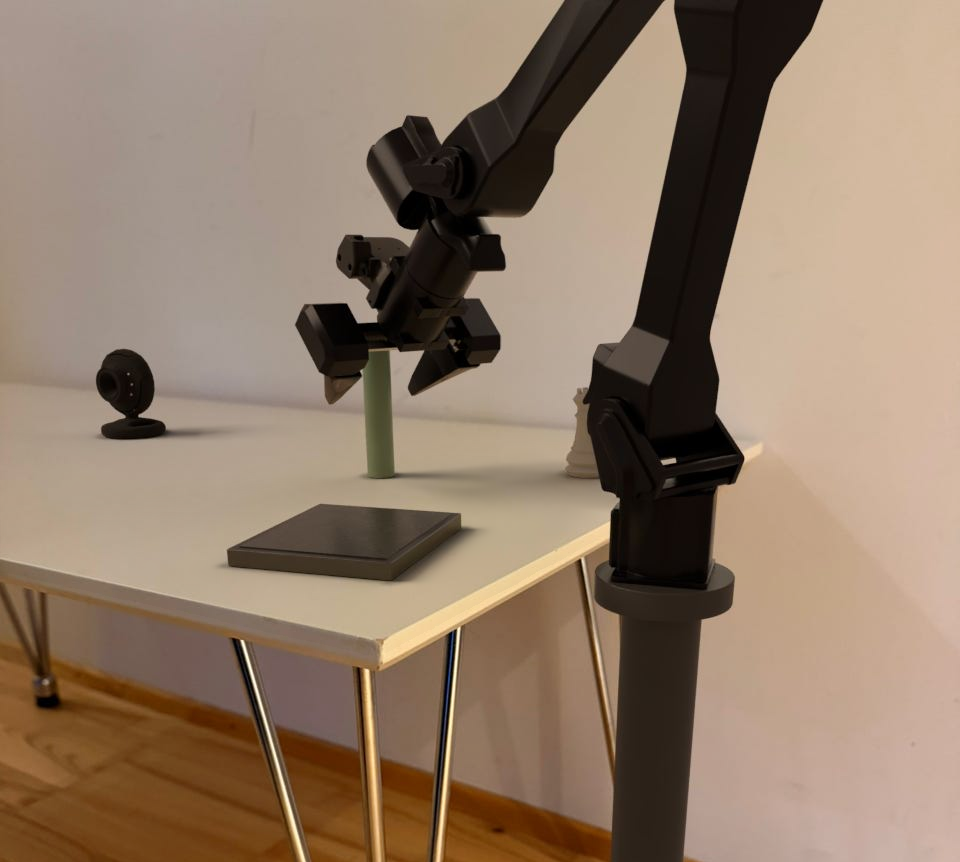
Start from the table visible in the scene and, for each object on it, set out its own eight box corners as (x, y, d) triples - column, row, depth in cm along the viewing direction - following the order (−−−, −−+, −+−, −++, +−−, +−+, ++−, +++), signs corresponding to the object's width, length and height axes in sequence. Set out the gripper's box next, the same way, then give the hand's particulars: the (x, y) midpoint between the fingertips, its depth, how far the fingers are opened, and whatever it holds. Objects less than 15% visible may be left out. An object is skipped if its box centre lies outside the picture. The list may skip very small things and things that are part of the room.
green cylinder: (398, 473, 96) (393, 334, 91) (388, 478, 93) (382, 336, 89) (374, 472, 96) (367, 333, 92) (363, 477, 94) (356, 335, 89)
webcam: (87, 436, 118) (74, 350, 115) (135, 427, 124) (124, 345, 121) (132, 441, 115) (120, 352, 111) (180, 432, 121) (170, 347, 117)
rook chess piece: (605, 468, 97) (608, 385, 94) (616, 477, 93) (619, 391, 90) (560, 470, 96) (562, 386, 94) (569, 479, 92) (571, 392, 89)
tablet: (461, 528, 76) (461, 512, 75) (391, 581, 63) (390, 562, 63) (320, 518, 79) (319, 502, 79) (228, 566, 67) (226, 548, 66)
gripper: (481, 203, 88) (415, 326, 101) (297, 196, 78) (247, 335, 90) (538, 298, 86) (463, 412, 98) (355, 305, 75) (295, 432, 87)
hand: (370, 396), depth 93 cm, fingers open, 9 cm apart
